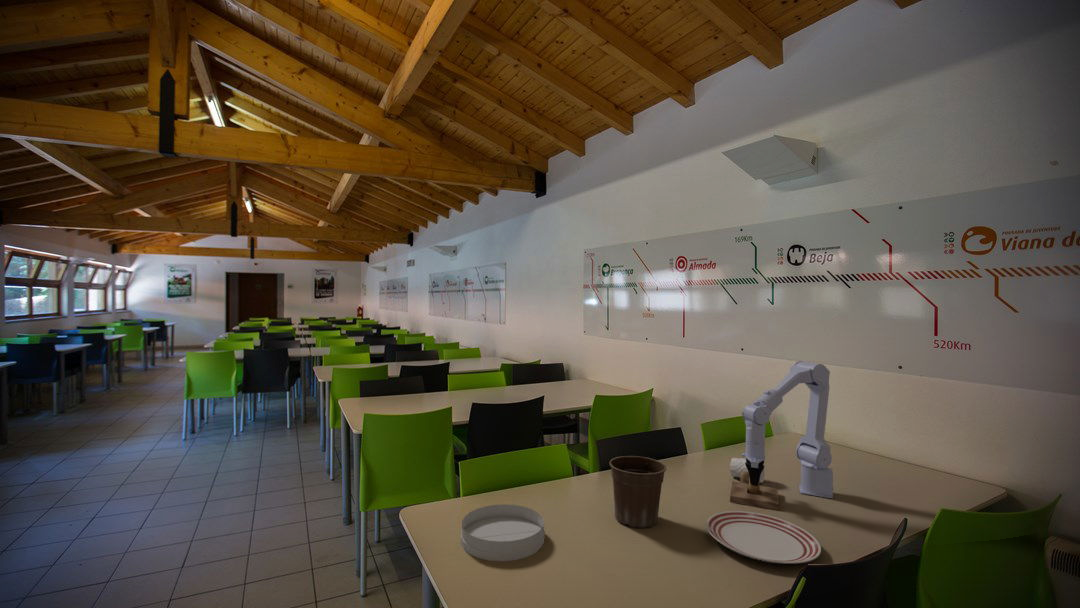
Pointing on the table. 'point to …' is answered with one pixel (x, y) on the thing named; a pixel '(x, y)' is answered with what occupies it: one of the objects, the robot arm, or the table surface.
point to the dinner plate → (763, 537)
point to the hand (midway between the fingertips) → (754, 483)
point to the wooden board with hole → (754, 496)
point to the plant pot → (637, 489)
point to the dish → (502, 532)
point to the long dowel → (754, 488)
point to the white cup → (741, 468)
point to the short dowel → (745, 477)
